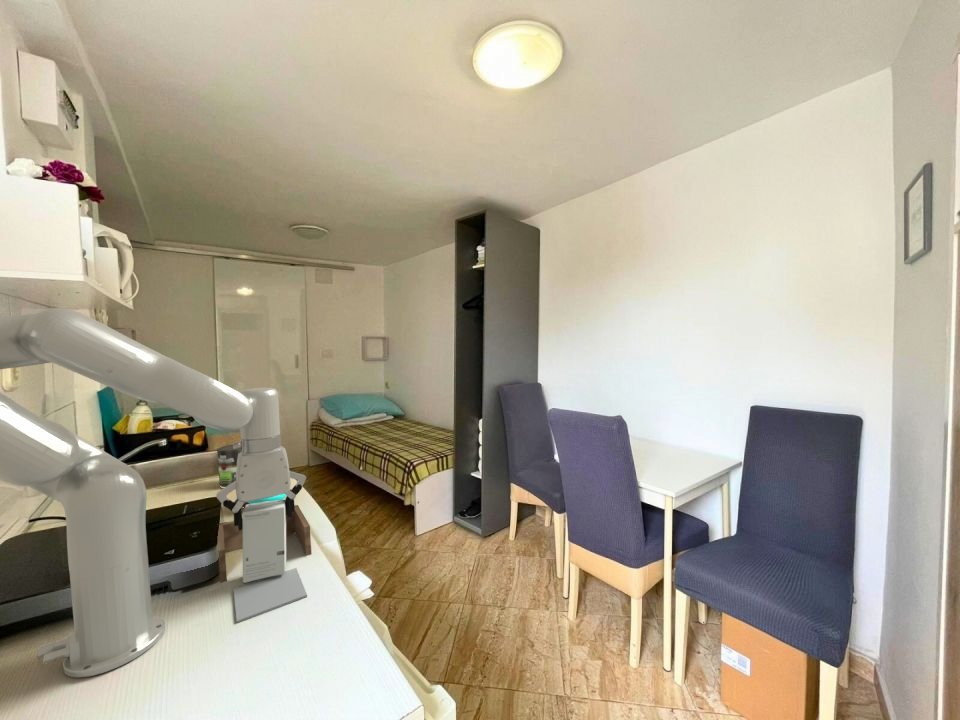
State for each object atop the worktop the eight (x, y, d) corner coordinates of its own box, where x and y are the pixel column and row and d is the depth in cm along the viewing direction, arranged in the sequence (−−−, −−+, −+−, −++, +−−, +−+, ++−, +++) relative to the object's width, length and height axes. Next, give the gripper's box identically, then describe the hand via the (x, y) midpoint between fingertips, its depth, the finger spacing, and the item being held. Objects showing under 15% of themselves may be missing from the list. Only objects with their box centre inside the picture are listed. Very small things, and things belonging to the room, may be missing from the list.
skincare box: (242, 584, 81) (239, 513, 81) (246, 569, 87) (243, 503, 86) (287, 573, 85) (284, 506, 84) (288, 560, 90) (285, 497, 90)
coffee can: (237, 489, 141) (234, 450, 141) (212, 488, 143) (209, 450, 142) (257, 479, 151) (255, 443, 151) (234, 478, 153) (232, 443, 152)
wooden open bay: (220, 583, 84) (218, 551, 83) (218, 552, 97) (217, 524, 96) (311, 553, 94) (309, 525, 94) (299, 529, 107) (297, 504, 107)
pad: (236, 623, 71) (236, 621, 71) (233, 590, 81) (233, 588, 81) (307, 596, 78) (307, 594, 78) (296, 569, 88) (296, 567, 88)
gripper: (214, 455, 77) (218, 540, 77) (307, 440, 87) (311, 516, 88) (213, 448, 83) (217, 527, 84) (300, 435, 93) (304, 505, 94)
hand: (265, 521), depth 86 cm, fingers closed on skincare box, 9 cm apart
